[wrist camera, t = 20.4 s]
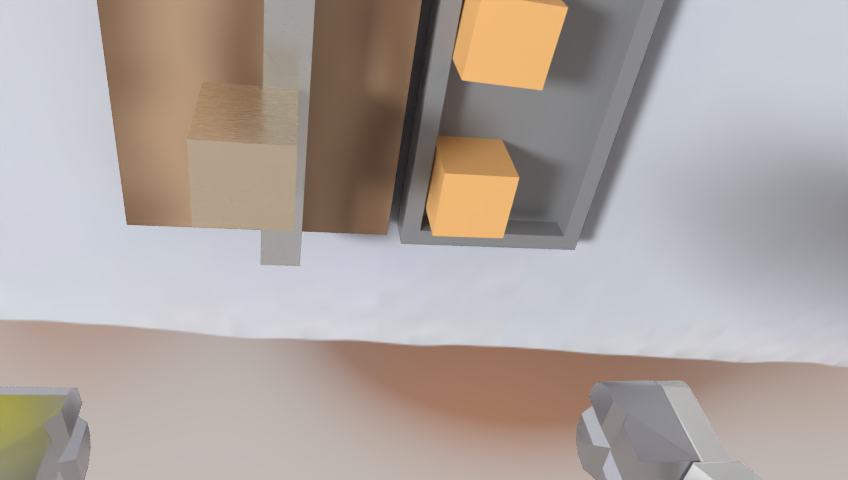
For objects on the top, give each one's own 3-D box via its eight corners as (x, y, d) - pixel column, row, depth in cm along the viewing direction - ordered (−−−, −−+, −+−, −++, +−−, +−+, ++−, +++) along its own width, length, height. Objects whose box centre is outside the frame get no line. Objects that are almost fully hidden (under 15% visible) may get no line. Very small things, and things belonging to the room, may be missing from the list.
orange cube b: (502, 139, 38) (519, 177, 35) (487, 198, 41) (503, 238, 38) (433, 135, 38) (444, 173, 35) (422, 194, 40) (432, 235, 37)
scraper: (317, -73, 28) (320, -13, 22) (300, 231, 38) (299, 334, 32) (205, -88, 28) (176, -29, 21) (216, 228, 37) (198, 333, 31)
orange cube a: (543, -21, 33) (568, 7, 30) (521, 57, 36) (542, 90, 32) (465, -34, 32) (482, -6, 29) (447, 47, 35) (461, 80, 32)
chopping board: (422, -74, 31) (430, -59, 29) (383, 209, 41) (387, 234, 39) (98, -116, 29) (83, -104, 27) (136, 198, 38) (127, 224, 36)
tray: (665, -64, 33) (683, -52, 32) (564, 230, 44) (574, 249, 42) (447, -94, 31) (455, -84, 29) (397, 223, 42) (401, 243, 40)
